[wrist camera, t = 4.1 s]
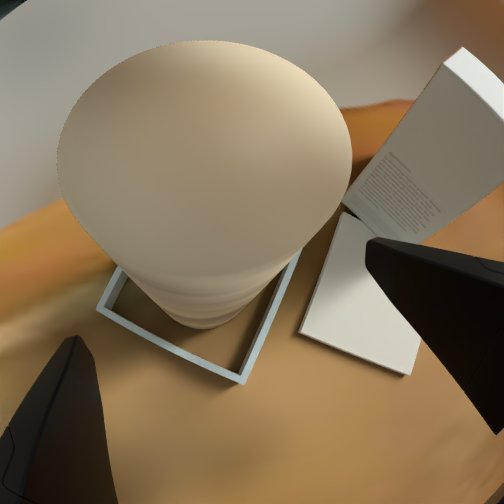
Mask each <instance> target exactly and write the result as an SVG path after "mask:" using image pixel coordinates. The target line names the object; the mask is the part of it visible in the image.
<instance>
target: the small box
mask: <svg viewBox="0 0 504 504" xmlns="http://www.w3.org/2000/svg"><path fill="white" fill-rule="evenodd" d="M502 183H504V84H503V83H502V82H501V81H500V80H499V79H498V78H497V77H496V76H495V75H494V74H493V73H492V72H491V71H490V70H489V69H488V68H487V67H486V66H485V65H484V64H482V63H481V62H480V61H479V60H478V59H477V58H475V57H474V56H473V55H472V54H471V53H470V52H468V51H467V50H466V49H465V48H464V47H461V48H459V49H458V50H457V51H455V52H454V53H453V54H452V55H451V56H449V57H448V58H447V59H446V60H445V61H443V62H442V63H441V65H440V66H439V68H438V69H437V71H436V73H435V74H434V76H433V77H432V78H431V80H430V81H429V82H428V84H427V85H426V87H425V88H424V90H423V91H422V92H421V94H420V95H419V97H418V98H417V99H416V101H415V102H414V103H413V105H412V106H411V107H410V109H409V110H408V111H407V113H406V114H405V115H404V117H403V118H402V119H401V121H400V122H399V124H398V125H397V126H396V128H395V129H394V130H393V132H392V133H391V134H390V136H389V137H388V138H387V140H386V141H385V142H384V144H383V145H382V146H381V147H380V149H379V150H378V152H377V153H376V154H375V156H374V157H373V158H372V160H371V161H370V162H369V163H368V165H367V166H366V167H365V168H364V169H363V171H362V172H361V173H360V175H359V176H358V177H357V178H356V180H355V181H354V182H353V184H352V185H351V186H350V187H349V188H348V190H347V191H346V192H345V194H344V197H343V199H342V201H341V202H342V203H343V204H344V205H346V206H347V207H348V208H349V209H350V210H351V211H352V212H353V213H354V214H355V215H356V216H358V217H359V218H360V219H361V220H362V221H363V222H364V223H365V224H366V225H367V226H368V227H369V228H370V229H371V230H372V231H373V232H374V233H375V234H376V235H377V236H378V237H382V238H387V239H392V240H398V241H403V242H408V243H413V244H418V245H419V244H420V243H422V242H423V241H425V240H426V239H428V238H429V237H431V236H432V235H433V234H435V233H436V232H438V231H439V230H441V229H442V228H444V227H445V226H446V225H448V224H449V223H451V222H452V221H454V220H455V219H456V218H458V217H459V216H461V215H462V214H463V213H465V212H466V211H467V210H469V209H470V208H471V207H473V206H474V205H475V204H477V203H478V202H479V201H480V200H482V199H483V198H484V197H486V196H487V195H488V194H490V193H491V192H492V191H493V190H495V189H496V188H497V187H498V186H500V185H501V184H502Z"/></svg>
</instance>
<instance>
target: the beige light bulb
mask: <svg viewBox="0 0 504 504" xmlns="http://www.w3.org/2000/svg"><path fill="white" fill-rule="evenodd" d="M351 170H352V148H351V140H350V136H349V132H348V129H347V126H346V123H345V121H344V119H343V117H342V114H341V112H340V111H339V109H338V107H337V106H336V104H335V103H334V101H333V100H332V98H331V97H330V96H329V95H328V93H327V92H326V91H325V90H324V89H323V88H322V87H321V86H320V85H319V84H318V83H317V82H316V81H315V80H314V79H313V78H312V77H311V76H309V75H308V74H307V73H306V72H304V71H303V70H302V69H300V68H298V67H297V66H295V65H294V64H292V63H291V62H289V61H287V60H285V59H283V58H281V57H279V56H277V55H274V54H272V53H269V52H267V51H264V50H262V49H258V48H255V47H252V46H248V45H243V44H238V43H232V42H224V41H208V40H207V41H206V40H202V41H187V42H180V43H173V44H169V45H164V46H160V47H156V48H153V49H150V50H147V51H144V52H142V53H139V54H137V55H135V56H133V57H130V58H128V59H127V60H125V61H123V62H121V63H119V64H118V65H116V66H114V67H113V68H111V69H110V70H109V71H107V72H106V73H104V74H103V75H102V76H101V77H100V78H99V79H97V80H96V81H95V82H94V83H93V84H92V85H91V86H90V87H89V88H88V89H87V90H86V91H85V92H84V93H83V94H82V96H81V97H80V99H79V100H78V101H77V103H76V104H75V105H74V107H73V108H72V110H71V112H70V114H69V116H68V118H67V120H66V122H65V124H64V127H63V130H62V132H61V136H60V140H59V145H58V151H57V171H58V180H59V184H60V187H61V190H62V194H63V197H64V199H65V201H66V203H67V205H68V207H69V209H70V211H71V213H72V214H73V215H74V217H75V218H76V219H77V221H78V222H79V223H80V224H81V226H82V227H83V228H84V229H85V230H86V232H87V233H88V234H89V235H90V236H91V237H92V238H93V239H94V241H95V242H96V243H97V244H98V245H99V246H100V247H101V248H102V249H103V250H104V251H105V252H106V254H107V255H108V256H109V257H110V258H111V259H112V260H113V261H114V262H115V263H116V264H117V265H118V266H119V267H120V268H121V269H122V270H123V271H124V272H125V273H126V274H127V275H128V276H129V277H130V278H131V279H132V280H133V281H134V282H135V283H136V284H137V285H138V286H139V287H140V288H141V289H142V290H143V291H144V292H145V293H146V294H147V295H148V296H149V297H150V298H151V299H152V300H153V301H154V302H155V303H156V304H157V305H158V306H159V307H160V308H161V309H162V310H163V311H165V312H166V313H167V314H168V315H169V316H170V317H171V318H172V319H174V320H175V321H177V322H178V323H180V324H182V325H184V326H187V327H190V328H195V329H211V328H215V327H219V326H221V325H224V324H226V323H227V322H229V321H231V320H232V319H233V318H235V317H236V316H237V315H238V314H239V313H240V312H241V311H242V310H243V309H244V308H245V307H246V306H247V305H248V304H249V303H250V302H251V301H252V300H253V299H254V298H255V297H256V296H257V295H258V294H259V293H260V292H261V291H262V289H263V288H264V287H265V286H266V285H267V284H268V283H269V282H270V281H271V280H272V279H273V278H274V277H275V276H276V275H277V274H278V273H279V272H280V271H281V270H282V269H283V268H284V267H285V266H286V265H287V264H288V263H289V262H290V261H291V260H292V258H293V257H294V256H295V255H296V254H297V253H298V252H299V251H300V250H301V249H302V248H303V247H304V246H305V245H306V244H307V243H308V242H309V241H310V240H311V238H312V237H313V236H314V235H315V234H316V233H317V232H318V231H319V230H320V229H321V228H322V227H323V225H324V224H325V223H326V222H327V221H328V220H329V219H330V218H331V216H332V215H333V214H334V212H335V211H336V209H337V207H338V206H339V204H340V203H341V201H342V199H343V197H344V194H345V192H346V189H347V187H348V184H349V179H350V175H351Z"/></svg>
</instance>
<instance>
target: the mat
mask: <svg viewBox="0 0 504 504" xmlns="http://www.w3.org/2000/svg"><path fill="white" fill-rule="evenodd" d="M375 237H378V236H377V235H376V234H375V233H374V232H373V231H372V230H371V229H370V228H369V227H368V226H367V225H366V224H365V223H364V222H362V221H361V220H359V219H357V218H355V217H353V216H351V215H349V214H347V213H345V212H343V213H342V214H341V215H340V218H339V221H338V224H337V227H336V230H335V233H334V236H333V239H332V242H331V245H330V248H329V251H328V254H327V256H326V259H325V262H324V265H323V268H322V270H321V273H320V276H319V279H318V281H317V284H316V287H315V290H314V292H313V295H312V297H311V300H310V303H309V305H308V308H307V311H306V313H305V316H304V318H303V321H302V323H301V326H300V328H299V331H298V333H300V334H302V335H305V336H307V337H310V338H312V339H314V340H317V341H319V342H321V343H324V344H326V345H329V346H331V347H334V348H336V349H339V350H341V351H344V352H346V353H349V354H351V355H354V356H356V357H359V358H361V359H364V360H366V361H369V362H372V363H374V364H377V365H379V366H382V367H385V368H387V369H390V370H393V371H395V372H398V373H401V374H404V375H411V372H412V368H413V365H414V362H415V358H416V355H417V352H418V348H419V344H420V341H421V337H420V336H419V335H418V333H417V332H416V331H415V330H414V329H413V327H412V326H411V325H410V324H409V323H408V322H407V320H406V319H405V318H404V317H403V316H402V315H401V313H400V312H399V311H398V310H397V309H396V308H395V307H394V305H393V304H392V303H391V302H390V300H389V299H388V298H387V296H386V295H385V294H384V292H383V291H382V289H381V288H380V287H379V285H378V284H377V283H376V281H375V280H374V278H373V277H372V276H371V274H370V273H369V272H368V270H367V269H366V266H365V249H366V243H367V241H368V240H370V239H373V238H375Z"/></svg>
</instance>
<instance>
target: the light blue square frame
mask: <svg viewBox="0 0 504 504" xmlns="http://www.w3.org/2000/svg"><path fill="white" fill-rule="evenodd" d="M301 251H302V249H301V250H300V251H299V252H298V253H297V254H296V255H295V256H294V257H293V258H292V260H291V261H290V262H289V263H288V264H287V265H286V266H285V267H284V269H283V271H282V274H281V276H280V279H279V281H278V283H277V286H276V288H275V290H274V293H273V295H272V297H271V300H270V302H269V304H268V307H267V309H266V311H265V314H264V316H263V318H262V321H261V323H260V325H259V327H258V330H257V332H256V334H255V337H254V339H253V341H252V343H251V346H250V348H249V350H248V352H247V355H246V357H245V359H244V361H243V363H242V366H241V368H240V370H239V372H238V374H237V373H235V372H232V371H230V370H228V369H225V368H223V367H221V366H219V365H216V364H214V363H212V362H210V361H208V360H205V359H203V358H201V357H199V356H197V355H195V354H193V353H191V352H189V351H186V350H184V349H182V348H180V347H178V346H176V345H174V344H172V343H170V342H168V341H166V340H164V339H162V338H161V337H159V336H157V335H155V334H153V333H151V332H149V331H147V330H145V329H144V328H142V327H140V326H138V325H136V324H134V323H133V322H131V321H129V320H127V319H125V318H124V317H122V316H120V315H118V314H117V313H115V312H113V311H112V310H111V309H112V307H113V305H114V303H115V301H116V299H117V297H118V295H119V293H120V291H121V289H122V288H123V286H124V284H125V282H126V280H127V278H128V275H127V274H126V273H125V272H124V271H123V270H122V269H121V268H120V267H119V266H117V268H116V270H115V272H114V274H113V276H112V277H111V279H110V281H109V283H108V285H107V287H106V289H105V291H104V293H103V295H102V297H101V299H100V301H99V303H98V305H97V307H96V309H95V310H97V311H98V312H100V313H102V314H103V315H105V316H107V317H108V318H110V319H112V320H113V321H115V322H117V323H118V324H120V325H122V326H124V327H125V328H127V329H129V330H131V331H133V332H134V333H136V334H138V335H140V336H142V337H144V338H145V339H147V340H149V341H151V342H153V343H155V344H157V345H159V346H161V347H162V348H164V349H166V350H168V351H170V352H172V353H174V354H176V355H178V356H180V357H182V358H185V359H187V360H189V361H191V362H193V363H195V364H197V365H199V366H201V367H204V368H206V369H208V370H210V371H212V372H215V373H217V374H219V375H221V376H224V377H226V378H228V379H231V380H233V381H235V382H238V383H240V384H243V385H245V383H246V381H247V379H248V376H249V374H250V372H251V370H252V367H253V365H254V363H255V361H256V358H257V356H258V354H259V352H260V349H261V347H262V345H263V343H264V340H265V338H266V336H267V333H268V331H269V329H270V326H271V324H272V322H273V319H274V317H275V315H276V312H277V310H278V307H279V305H280V303H281V300H282V298H283V295H284V293H285V291H286V288H287V286H288V283H289V281H290V278H291V276H292V273H293V271H294V268H295V266H296V263H297V261H298V258H299V256H300V253H301Z"/></svg>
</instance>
